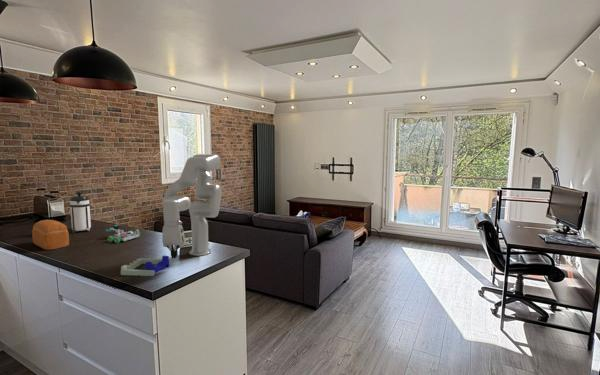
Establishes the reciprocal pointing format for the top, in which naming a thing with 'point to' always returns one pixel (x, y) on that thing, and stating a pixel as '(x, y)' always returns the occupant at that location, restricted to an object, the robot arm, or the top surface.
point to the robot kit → (122, 235)
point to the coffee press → (80, 213)
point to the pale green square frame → (129, 270)
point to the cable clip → (160, 265)
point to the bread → (50, 234)
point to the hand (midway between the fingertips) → (174, 257)
